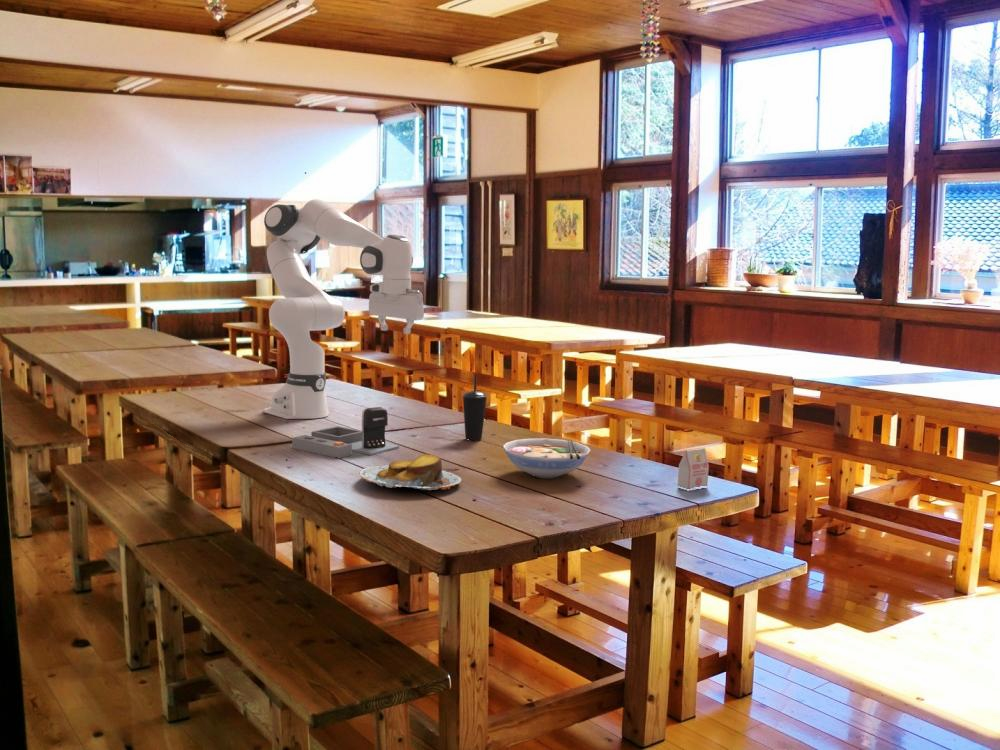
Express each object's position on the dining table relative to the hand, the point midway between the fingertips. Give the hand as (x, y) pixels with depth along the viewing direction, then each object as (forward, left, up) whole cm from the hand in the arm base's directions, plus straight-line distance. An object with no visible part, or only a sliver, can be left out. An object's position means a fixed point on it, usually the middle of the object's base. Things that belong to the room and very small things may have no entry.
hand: (395, 331), depth 304 cm
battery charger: (+18, -29, -30) cm, 45 cm away
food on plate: (+49, -51, -31) cm, 77 cm away
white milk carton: (+105, -7, -30) cm, 109 cm away
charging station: (+7, -33, -30) cm, 45 cm away
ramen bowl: (+70, -21, -30) cm, 79 cm away
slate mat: (+16, -29, -30) cm, 45 cm away
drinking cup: (+31, +1, -30) cm, 43 cm away
